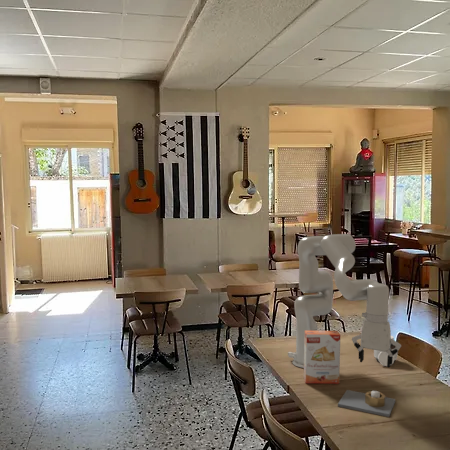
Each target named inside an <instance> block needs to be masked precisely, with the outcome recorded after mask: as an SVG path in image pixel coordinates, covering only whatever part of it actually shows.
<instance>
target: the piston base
mask: <svg viewBox="0 0 450 450" xmlns="http://www.w3.org/2000/svg"><path fill="white" fill-rule="evenodd" d="M366 393H367V392H365V393H364V392H360V391H355V390H350V389H346V390H345V392H344V393H343V395H342V397H341V398H340V399H339V401H338V403H337V407H339V408H344V409H347V410H348V409H349V410H353V411H354V410H355V411H358V412H364V413H369V414H372V415H377V416H383V417H386V418H390V416H391V413H392V411H393V409H394V406H395V404H396V398H391V397H387V396H385V405H384V406H383V407H373V406H369V405H368V404H366V403H365V394H366ZM371 397H375V398H380V391H377V390H372V391H371Z"/></svg>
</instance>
